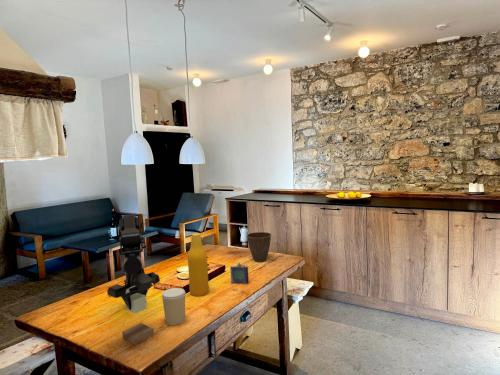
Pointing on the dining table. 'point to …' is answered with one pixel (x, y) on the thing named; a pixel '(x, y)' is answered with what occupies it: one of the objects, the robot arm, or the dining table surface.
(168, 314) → the coffee cup
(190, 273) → the beer bottle
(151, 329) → the base
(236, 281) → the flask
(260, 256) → the plant pot
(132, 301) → the cube
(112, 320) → the dining table surface
